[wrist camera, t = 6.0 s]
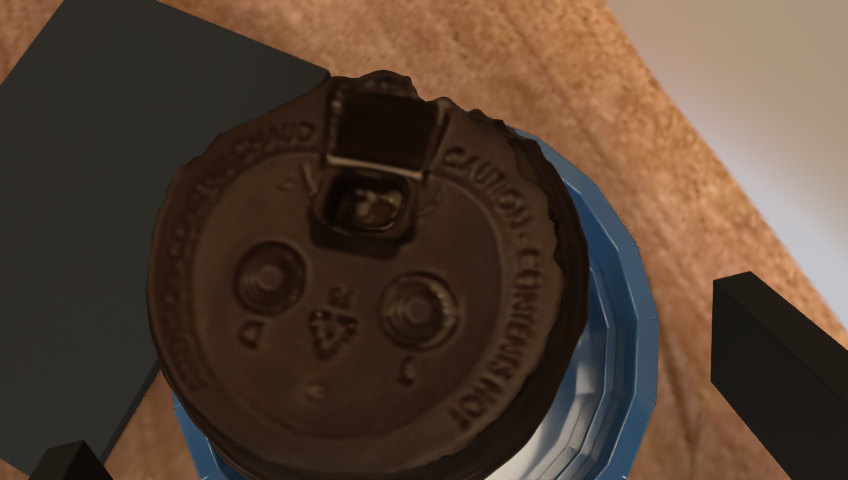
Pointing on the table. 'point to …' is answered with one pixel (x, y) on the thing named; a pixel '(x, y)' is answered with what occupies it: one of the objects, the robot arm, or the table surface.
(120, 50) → the mat
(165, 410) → the table surface
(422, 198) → the coffee cup
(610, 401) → the bowl
